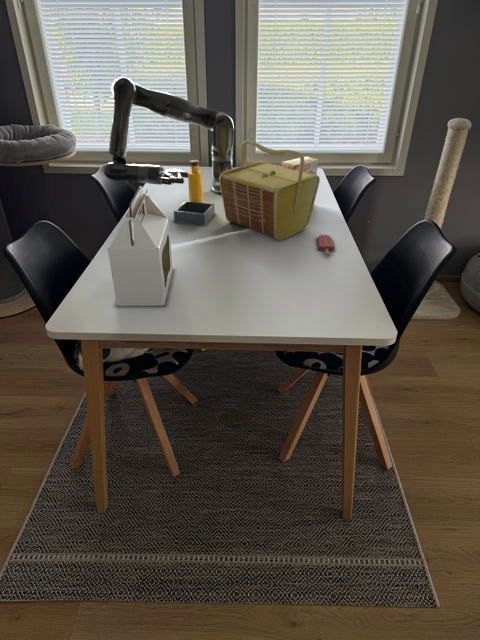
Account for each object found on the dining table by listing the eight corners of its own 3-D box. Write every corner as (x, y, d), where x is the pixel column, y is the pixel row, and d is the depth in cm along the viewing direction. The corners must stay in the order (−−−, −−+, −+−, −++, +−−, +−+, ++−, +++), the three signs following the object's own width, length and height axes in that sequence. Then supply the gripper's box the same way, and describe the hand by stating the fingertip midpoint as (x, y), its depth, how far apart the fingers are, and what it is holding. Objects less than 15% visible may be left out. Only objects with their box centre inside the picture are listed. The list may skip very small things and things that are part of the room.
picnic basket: (317, 227, 175) (326, 146, 158) (275, 247, 159) (280, 160, 143) (260, 208, 191) (263, 134, 175) (217, 225, 176) (215, 144, 159)
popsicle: (320, 251, 153) (316, 234, 166) (319, 255, 154) (316, 238, 166) (335, 252, 153) (331, 234, 165) (335, 256, 154) (330, 238, 166)
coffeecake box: (290, 213, 187) (294, 165, 177) (278, 208, 192) (281, 161, 181) (314, 205, 196) (319, 159, 185) (301, 201, 200) (306, 155, 189)
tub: (185, 211, 188) (185, 200, 185) (214, 214, 185) (214, 203, 182) (174, 222, 178) (173, 211, 175) (204, 225, 175) (204, 214, 172)
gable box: (164, 306, 126) (154, 210, 110) (116, 306, 125) (100, 209, 110) (172, 269, 144) (165, 182, 128) (131, 269, 144) (119, 182, 128)
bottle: (199, 204, 194) (197, 158, 184) (205, 209, 190) (204, 161, 179) (187, 207, 192) (184, 160, 181) (193, 211, 188) (191, 163, 177)
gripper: (142, 169, 181) (180, 173, 177) (157, 161, 192) (193, 164, 189) (144, 188, 185) (181, 192, 181) (158, 178, 196) (193, 182, 193)
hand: (187, 178), depth 185 cm, fingers open, 8 cm apart
